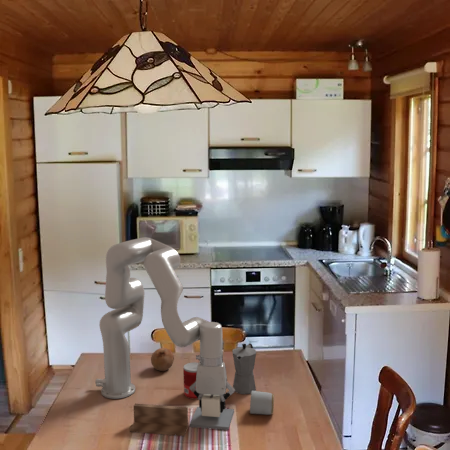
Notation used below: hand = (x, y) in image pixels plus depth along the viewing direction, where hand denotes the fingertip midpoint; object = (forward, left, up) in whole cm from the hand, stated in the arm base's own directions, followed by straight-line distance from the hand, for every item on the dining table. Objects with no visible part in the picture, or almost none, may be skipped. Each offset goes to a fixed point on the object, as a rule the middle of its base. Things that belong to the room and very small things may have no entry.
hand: (212, 409), depth 185 cm
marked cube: (0, 0, -1) cm, 1 cm away
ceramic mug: (+16, +8, -4) cm, 18 cm away
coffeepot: (+8, +25, -4) cm, 27 cm away
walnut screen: (-16, -9, -3) cm, 19 cm away
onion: (-28, +37, -4) cm, 47 cm away
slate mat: (0, 0, -3) cm, 3 cm away
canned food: (-10, +17, -4) cm, 20 cm away
